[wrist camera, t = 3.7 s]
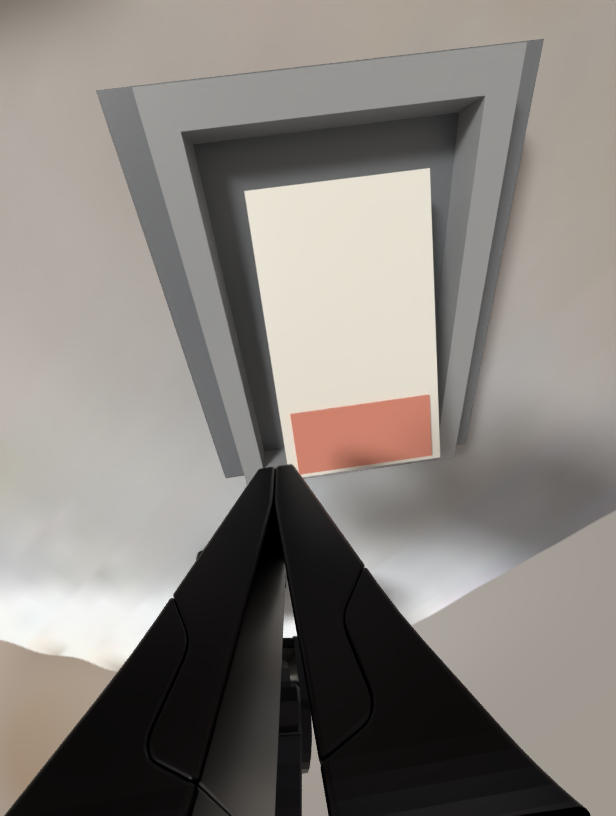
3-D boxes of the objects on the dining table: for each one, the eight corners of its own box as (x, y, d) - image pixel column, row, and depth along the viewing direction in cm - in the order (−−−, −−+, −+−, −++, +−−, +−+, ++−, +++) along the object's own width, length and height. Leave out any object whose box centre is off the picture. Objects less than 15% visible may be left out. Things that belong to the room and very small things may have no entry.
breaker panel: (440, 416, 20) (479, 460, 16) (232, 446, 20) (221, 497, 16) (486, 80, 12) (585, 8, 8) (135, 121, 12) (66, 67, 8)
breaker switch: (426, 446, 13) (442, 458, 12) (289, 466, 13) (289, 480, 12) (415, 186, 11) (431, 165, 10) (249, 207, 11) (243, 188, 9)
